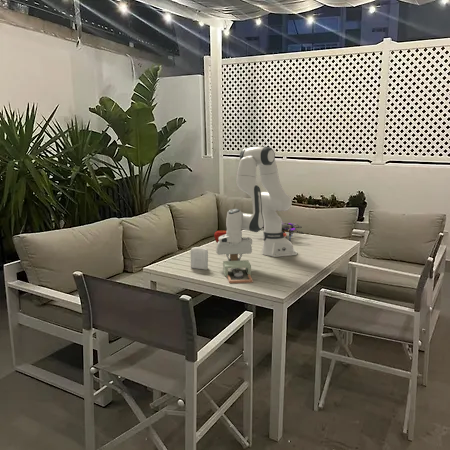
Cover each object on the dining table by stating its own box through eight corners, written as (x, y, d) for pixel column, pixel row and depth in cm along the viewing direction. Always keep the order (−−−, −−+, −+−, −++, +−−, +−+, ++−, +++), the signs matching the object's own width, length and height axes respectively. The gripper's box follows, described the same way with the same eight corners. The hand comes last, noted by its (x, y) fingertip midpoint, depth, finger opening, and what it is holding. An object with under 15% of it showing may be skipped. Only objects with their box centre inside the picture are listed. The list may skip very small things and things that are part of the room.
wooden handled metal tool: (230, 266, 263) (230, 252, 261) (236, 265, 263) (236, 252, 261) (233, 275, 245) (233, 261, 243) (241, 275, 246) (241, 261, 244)
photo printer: (209, 268, 259) (208, 247, 257) (206, 270, 255) (205, 249, 253) (192, 266, 263) (192, 245, 260) (189, 268, 259) (189, 247, 256)
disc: (242, 275, 246) (242, 271, 245) (243, 278, 241) (243, 274, 240) (233, 275, 245) (233, 271, 245) (234, 278, 240) (234, 274, 240)
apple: (233, 247, 304) (233, 229, 301) (220, 249, 298) (220, 232, 296) (224, 244, 313) (224, 227, 310) (211, 246, 307) (211, 229, 305)
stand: (248, 269, 255) (248, 260, 254) (251, 275, 245) (251, 265, 244) (223, 270, 253) (223, 261, 252) (225, 276, 244) (225, 266, 243)
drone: (249, 225, 327) (265, 218, 351) (249, 238, 329) (265, 231, 353) (302, 231, 308) (315, 223, 332) (301, 244, 310) (315, 236, 334)
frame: (249, 276, 244) (249, 274, 243) (252, 282, 234) (252, 280, 234) (227, 277, 242) (227, 275, 242) (229, 283, 233) (229, 281, 233)
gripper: (251, 236, 260) (251, 259, 263) (215, 237, 258) (216, 260, 261) (253, 238, 254) (253, 262, 257) (216, 239, 252) (217, 263, 255)
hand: (234, 261), depth 259 cm, fingers closed on wooden handled metal tool, 4 cm apart
